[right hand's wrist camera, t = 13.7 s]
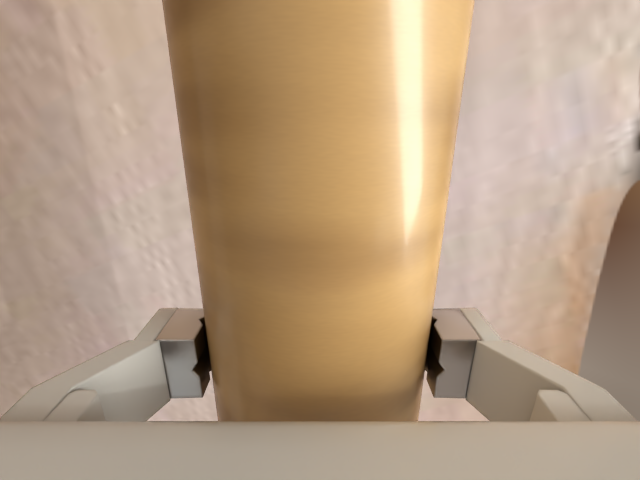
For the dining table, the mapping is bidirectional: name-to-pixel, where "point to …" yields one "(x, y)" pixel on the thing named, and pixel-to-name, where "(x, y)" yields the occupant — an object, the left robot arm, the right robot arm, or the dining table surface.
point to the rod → (318, 195)
